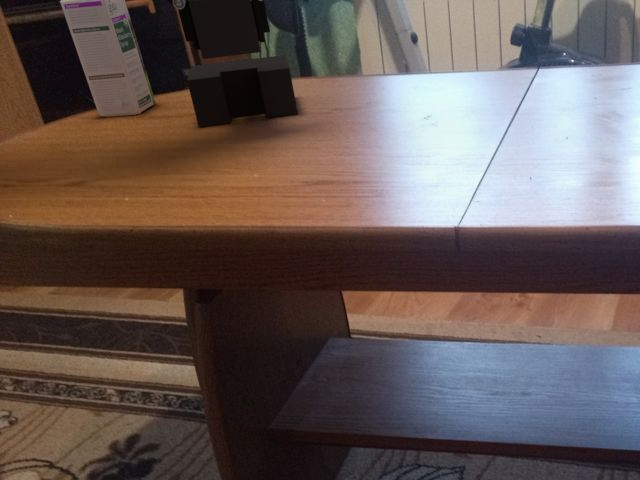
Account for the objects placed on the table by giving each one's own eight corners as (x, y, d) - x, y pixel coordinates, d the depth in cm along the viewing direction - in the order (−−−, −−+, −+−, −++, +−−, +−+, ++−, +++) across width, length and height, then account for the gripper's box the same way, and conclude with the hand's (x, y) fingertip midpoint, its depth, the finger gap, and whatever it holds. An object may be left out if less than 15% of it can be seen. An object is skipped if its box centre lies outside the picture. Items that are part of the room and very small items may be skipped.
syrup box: (140, 114, 97) (104, -7, 89) (97, 117, 97) (57, -3, 90) (156, 104, 102) (124, -11, 94) (115, 107, 102) (79, -8, 95)
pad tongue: (202, 59, 76) (188, 1, 73) (206, 41, 87) (194, -10, 84) (261, 52, 77) (249, -5, 75) (258, 36, 88) (247, -15, 85)
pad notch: (198, 127, 89) (186, 80, 86) (202, 109, 97) (191, 65, 94) (298, 114, 91) (289, 67, 88) (292, 97, 100) (284, 54, 97)
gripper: (275, -161, 74) (308, 30, 84) (95, -149, 71) (150, 48, 81) (278, -168, 68) (313, 40, 78) (81, -155, 65) (143, 59, 74)
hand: (230, 42), depth 79 cm, fingers closed on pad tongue, 6 cm apart
